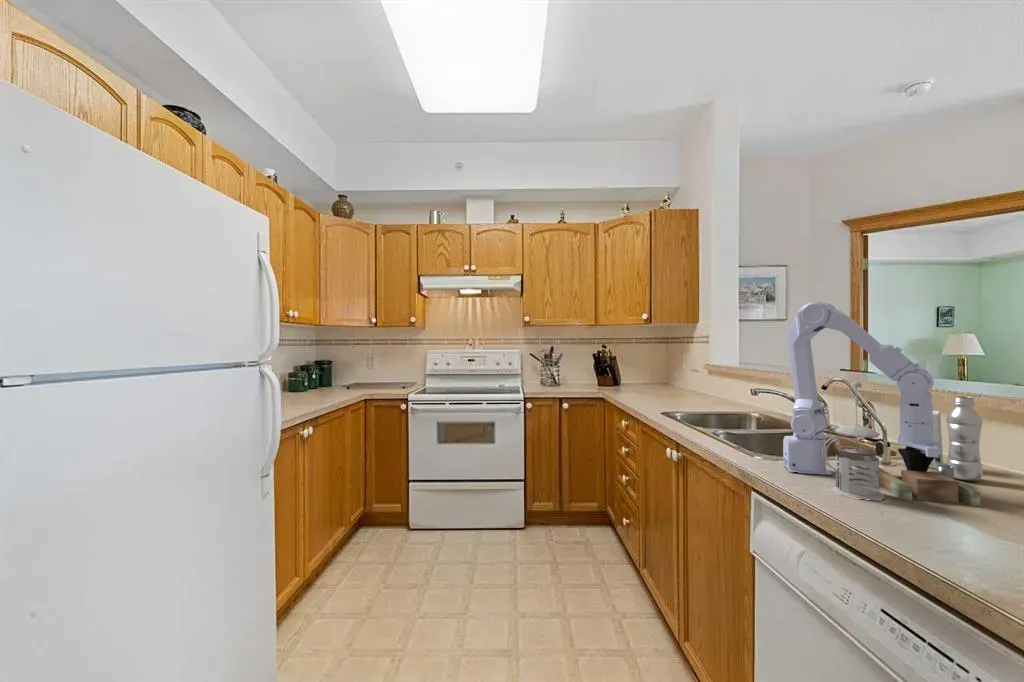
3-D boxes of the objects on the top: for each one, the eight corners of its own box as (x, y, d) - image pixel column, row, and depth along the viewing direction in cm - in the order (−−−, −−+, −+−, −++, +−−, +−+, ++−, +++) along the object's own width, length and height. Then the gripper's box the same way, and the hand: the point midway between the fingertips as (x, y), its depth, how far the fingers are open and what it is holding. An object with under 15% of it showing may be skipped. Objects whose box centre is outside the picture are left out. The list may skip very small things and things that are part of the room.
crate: (917, 499, 101) (917, 478, 101) (901, 489, 108) (901, 469, 108) (959, 502, 99) (958, 481, 99) (940, 492, 105) (939, 472, 105)
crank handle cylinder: (941, 484, 110) (940, 458, 110) (929, 478, 115) (929, 453, 115) (956, 486, 110) (956, 459, 110) (944, 479, 114) (944, 454, 114)
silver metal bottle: (966, 475, 117) (965, 395, 117) (991, 484, 111) (990, 399, 111) (938, 475, 118) (937, 395, 118) (961, 483, 111) (960, 399, 111)
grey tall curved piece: (895, 502, 99) (894, 384, 99) (834, 499, 102) (833, 383, 102) (870, 487, 109) (869, 380, 109) (814, 485, 111) (813, 379, 111)
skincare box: (943, 465, 127) (942, 410, 127) (941, 470, 122) (940, 413, 122) (903, 460, 133) (902, 407, 133) (899, 464, 129) (899, 410, 128)
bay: (903, 500, 100) (903, 486, 100) (868, 476, 118) (868, 464, 118) (980, 506, 96) (980, 491, 96) (932, 480, 114) (932, 468, 114)
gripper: (956, 428, 100) (957, 492, 100) (920, 417, 113) (921, 474, 114) (915, 427, 102) (916, 489, 102) (886, 416, 116) (886, 471, 116)
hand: (916, 481), depth 108 cm, fingers closed
